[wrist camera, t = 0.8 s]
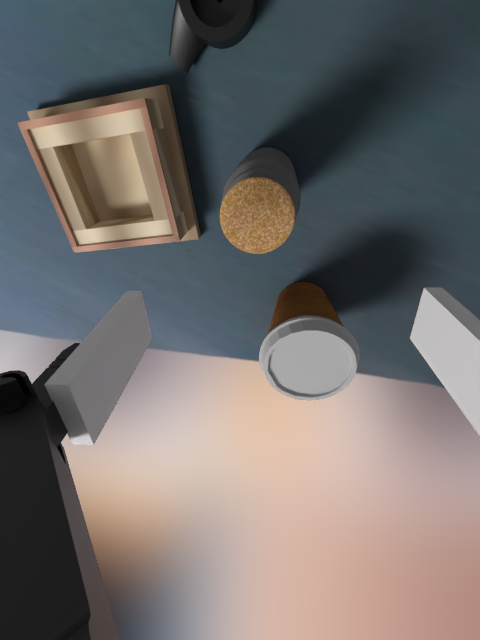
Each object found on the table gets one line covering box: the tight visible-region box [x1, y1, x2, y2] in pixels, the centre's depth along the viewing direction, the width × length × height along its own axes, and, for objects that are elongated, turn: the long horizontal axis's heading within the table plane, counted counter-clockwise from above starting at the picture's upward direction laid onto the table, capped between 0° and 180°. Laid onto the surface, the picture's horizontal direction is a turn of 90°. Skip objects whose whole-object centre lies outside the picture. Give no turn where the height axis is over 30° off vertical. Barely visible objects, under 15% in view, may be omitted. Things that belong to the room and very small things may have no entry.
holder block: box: [18, 84, 201, 253], centre depth 32 cm, size 14×14×4 cm
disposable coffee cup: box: [259, 282, 360, 400], centre depth 34 cm, size 10×10×12 cm
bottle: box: [220, 147, 300, 254], centre depth 26 cm, size 6×6×15 cm
